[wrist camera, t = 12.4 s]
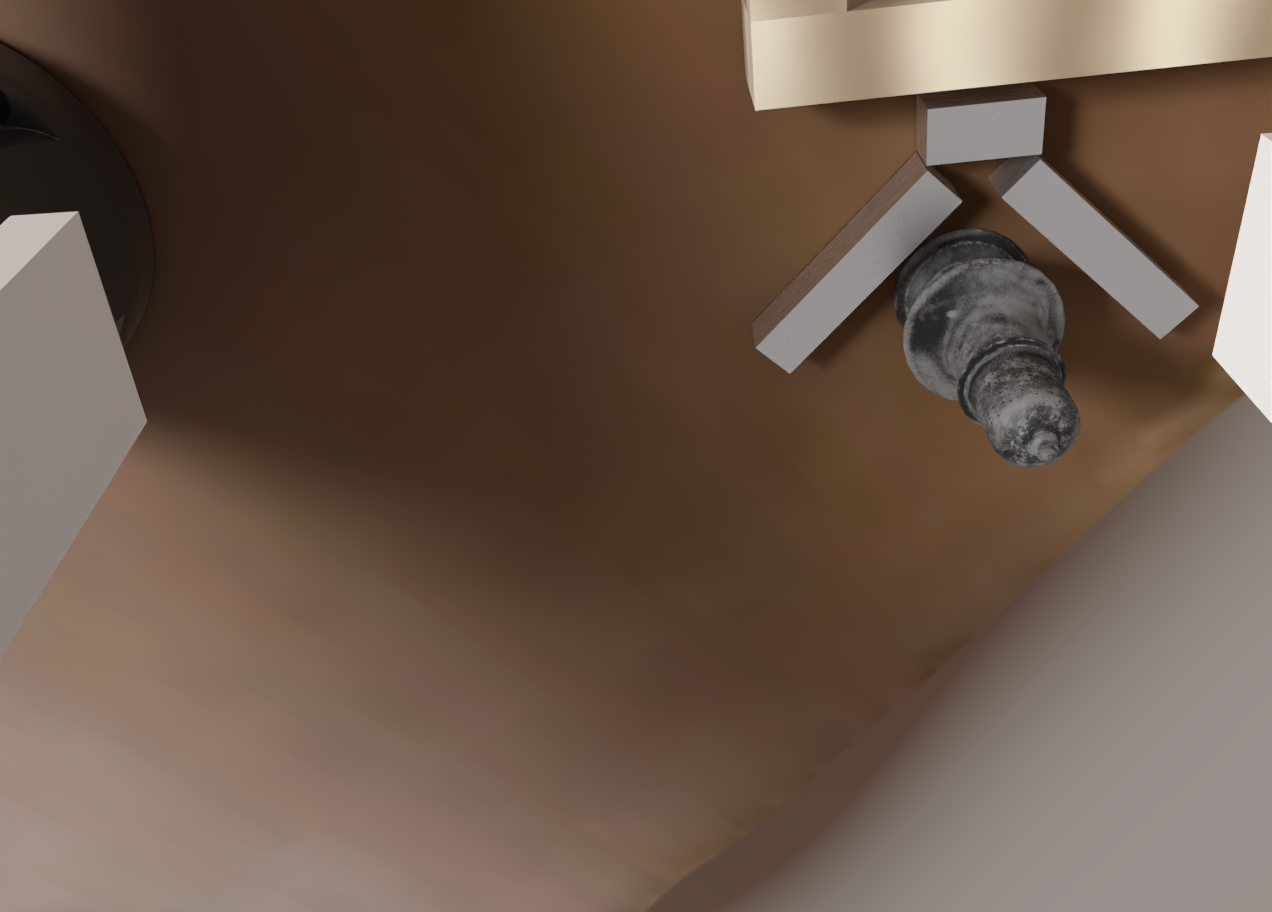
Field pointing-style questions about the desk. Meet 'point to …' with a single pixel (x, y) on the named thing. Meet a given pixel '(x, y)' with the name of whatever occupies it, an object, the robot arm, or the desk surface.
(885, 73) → the bracket
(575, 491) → the desk surface
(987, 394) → the grey tall rounded piece
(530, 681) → the desk surface
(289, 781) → the desk surface
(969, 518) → the desk surface
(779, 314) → the v block
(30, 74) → the robot arm
